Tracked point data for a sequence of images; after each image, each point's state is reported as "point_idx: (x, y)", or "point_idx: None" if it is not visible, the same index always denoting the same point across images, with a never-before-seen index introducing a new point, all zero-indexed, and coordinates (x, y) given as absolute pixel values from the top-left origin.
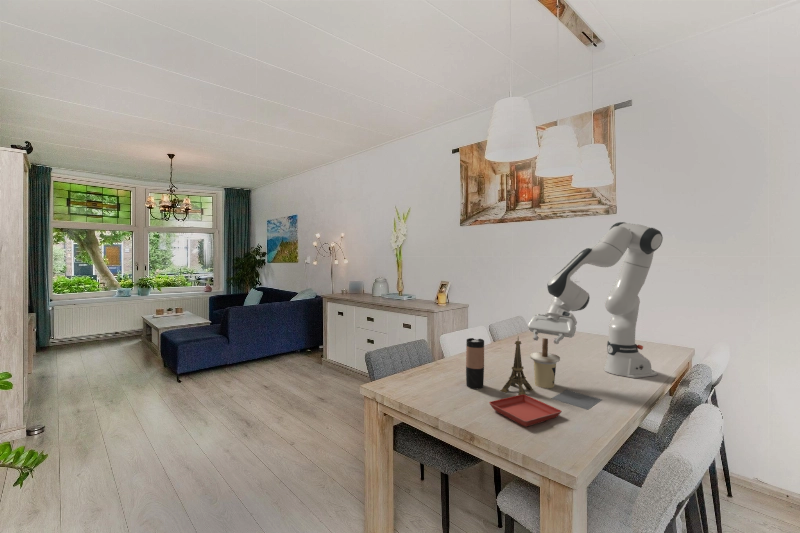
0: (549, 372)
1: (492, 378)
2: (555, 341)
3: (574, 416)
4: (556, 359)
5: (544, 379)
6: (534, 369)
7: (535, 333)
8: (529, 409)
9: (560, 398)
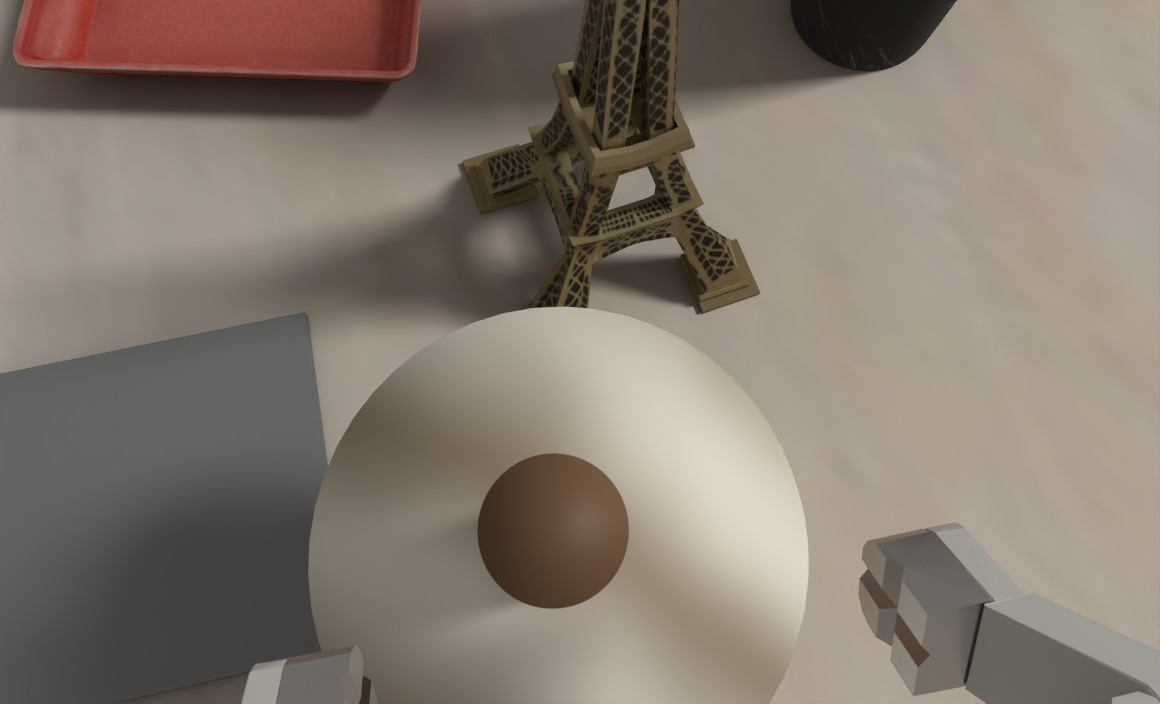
0: None
1: (963, 261)
2: (292, 661)
3: (7, 200)
4: (320, 550)
5: None
6: None
7: (1067, 665)
8: (272, 9)
9: (251, 385)
